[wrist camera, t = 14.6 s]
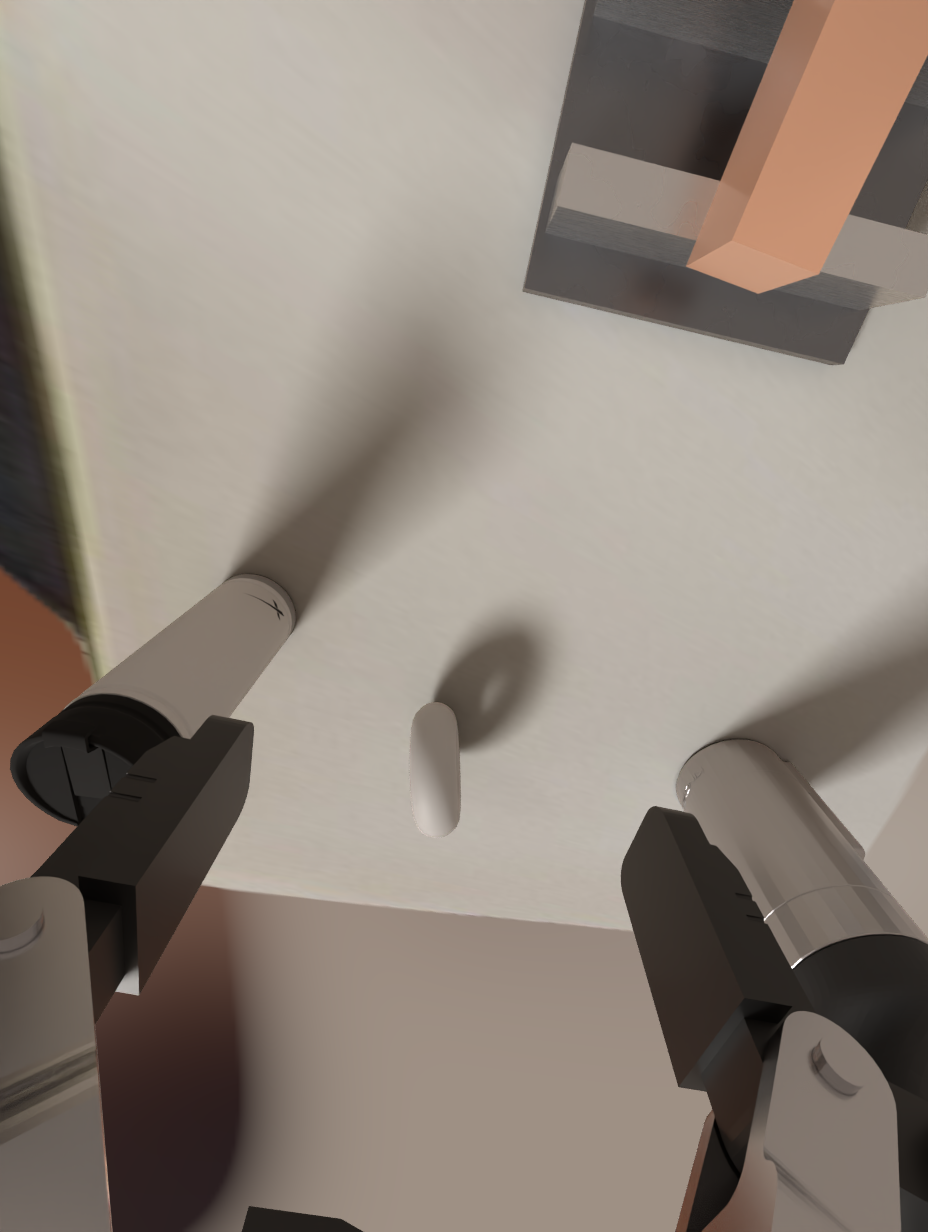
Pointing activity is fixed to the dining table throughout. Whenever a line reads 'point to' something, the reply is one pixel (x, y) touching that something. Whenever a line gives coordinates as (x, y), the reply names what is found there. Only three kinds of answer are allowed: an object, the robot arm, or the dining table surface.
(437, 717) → the donut
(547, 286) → the aluminium rail channel
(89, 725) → the travel mug
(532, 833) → the dining table surface
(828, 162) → the clay strip
